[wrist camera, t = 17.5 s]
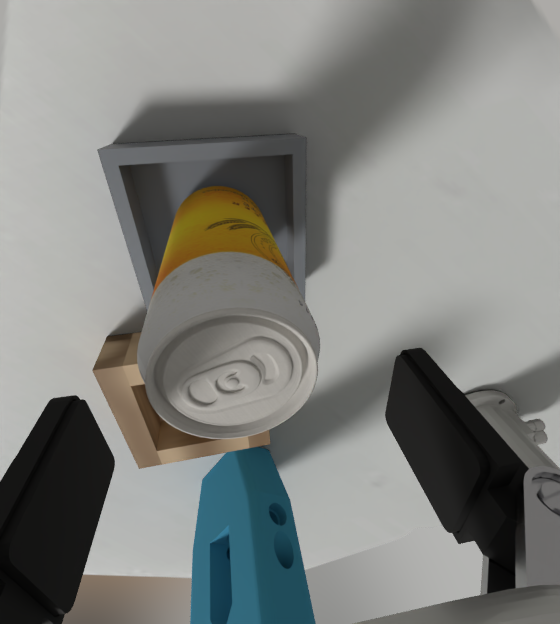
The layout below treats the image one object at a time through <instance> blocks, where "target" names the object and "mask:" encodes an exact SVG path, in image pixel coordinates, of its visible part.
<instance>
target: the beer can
mask: <svg viewBox="0 0 560 624" xmlns="http://www.w3.org/2000/svg"><path fill="white" fill-rule="evenodd" d="M319 353H320V338H319V333H318V329H317V326H316V324H315V321H314V319H313V317H312V315H311V313H310V311H309V309H308V307H307V305H306V303H305V301H304V299H303V297H302V295H301V293H300V291H299V289H298V287H297V285H296V283H295V281H294V279H293V277H292V275H291V272H290V270H289V268H288V266H287V264H286V262H285V260H284V258H283V256H282V254H281V252H280V250H279V248H278V246H277V244H276V242H275V240H274V238H273V236H272V234H271V232H270V230H269V228H268V226H267V224H266V222H265V220H264V218H263V215H262V213H261V212H260V210H259V208H258V207H257V205H256V204H255V203H254V202H253V201H252V199H250V198H249V197H248V196H247V195H245V194H244V193H242V192H240V191H238V190H236V189H233V188H230V187H225V186H210V187H206V188H202V189H200V190H198V191H196V192H194V193H192V194H191V195H190V196H188V197H187V198H186V199H185V200H184V201H183V202H182V204H181V205H180V207H179V208H178V210H177V213H176V215H175V219H174V222H173V225H172V229H171V232H170V236H169V239H168V243H167V246H166V250H165V253H164V257H163V260H162V263H161V267H160V270H159V274H158V277H157V281H156V284H155V288H154V291H153V295H152V298H151V301H150V305H149V308H148V312H147V315H146V319H145V322H144V326H143V329H142V333H141V336H140V339H139V343H138V349H137V362H138V368H139V371H140V374H141V377H142V379H143V381H144V383H145V387H146V393H147V396H148V399H149V402H150V403H151V405H152V407H153V409H154V410H155V411H156V413H157V414H158V415H159V416H160V417H161V418H162V419H163V420H165V421H166V422H167V423H168V424H170V425H171V426H173V427H175V428H177V429H179V430H181V431H183V432H185V433H188V434H191V435H195V436H199V437H204V438H211V439H235V438H242V437H247V436H252V435H255V434H259V433H262V432H264V431H267V430H269V429H272V428H274V427H276V426H278V425H279V424H281V423H283V422H284V421H286V420H287V419H289V418H290V417H291V416H293V415H294V414H295V413H296V412H297V411H298V410H299V409H300V408H301V407H302V406H303V405H304V404H305V403H306V401H307V400H308V398H309V397H310V395H311V393H312V391H313V389H314V387H315V384H316V380H317V375H318V364H317V362H318V358H319Z"/></svg>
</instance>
